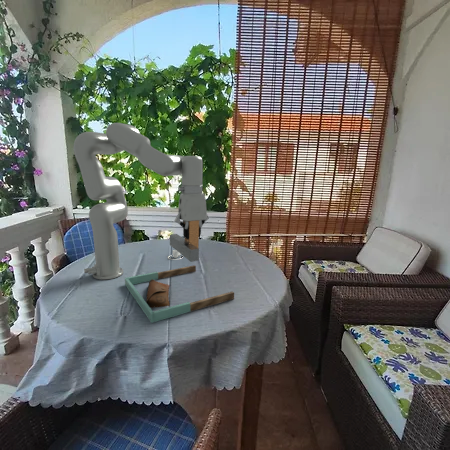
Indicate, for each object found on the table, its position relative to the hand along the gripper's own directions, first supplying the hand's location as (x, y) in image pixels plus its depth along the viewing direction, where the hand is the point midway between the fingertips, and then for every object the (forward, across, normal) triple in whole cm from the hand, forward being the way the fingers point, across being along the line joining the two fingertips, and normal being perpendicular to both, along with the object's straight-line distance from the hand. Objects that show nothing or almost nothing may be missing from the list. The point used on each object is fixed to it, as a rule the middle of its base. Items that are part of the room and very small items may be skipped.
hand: (192, 237), depth 110 cm
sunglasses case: (+22, -14, 0) cm, 26 cm away
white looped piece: (+22, +12, +37) cm, 44 cm away
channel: (+21, 0, 0) cm, 21 cm away
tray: (+21, -15, 0) cm, 26 cm away
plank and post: (+6, -1, +1) cm, 6 cm away
